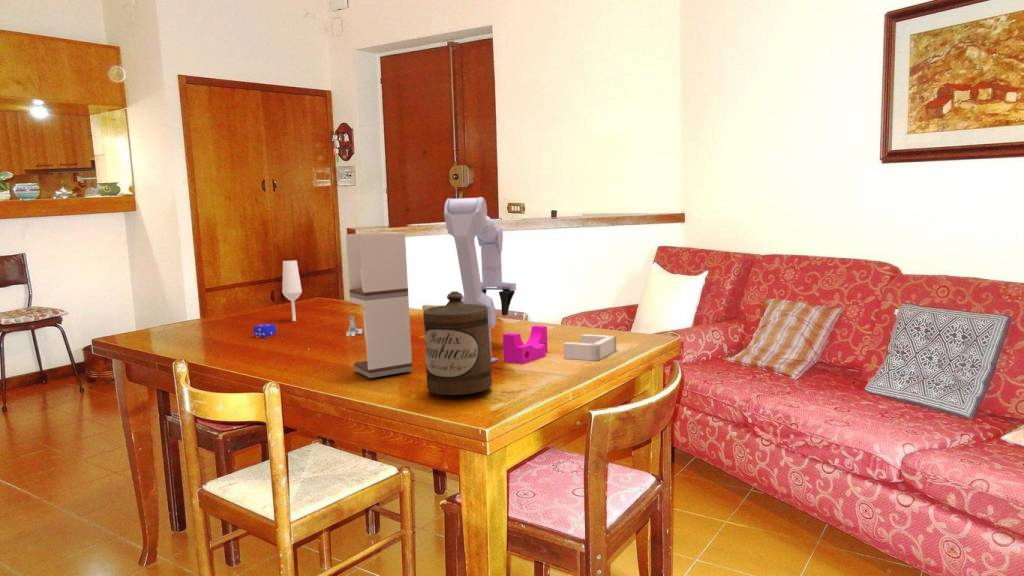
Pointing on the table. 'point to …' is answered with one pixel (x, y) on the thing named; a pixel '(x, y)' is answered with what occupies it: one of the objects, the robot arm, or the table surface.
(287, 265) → the champagne flute
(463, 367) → the wooden container
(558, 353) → the table surface
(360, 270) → the grey stacked tower
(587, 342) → the block holder
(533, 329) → the toy block
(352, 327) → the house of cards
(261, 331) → the die
